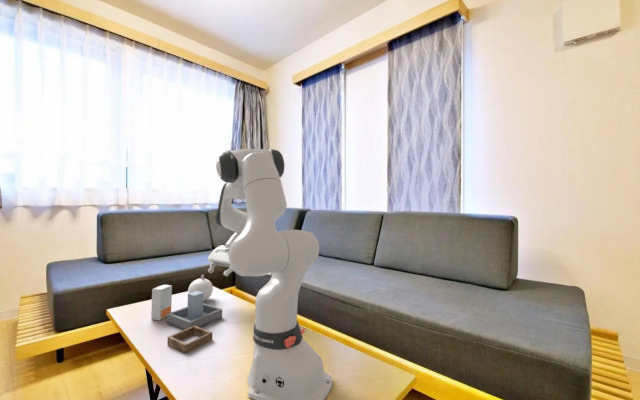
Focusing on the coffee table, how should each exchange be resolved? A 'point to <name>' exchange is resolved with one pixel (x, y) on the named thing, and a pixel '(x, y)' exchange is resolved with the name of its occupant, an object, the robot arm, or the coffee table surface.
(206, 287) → the ornament
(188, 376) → the coffee table surface
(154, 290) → the skincare box
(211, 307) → the charcoal tray
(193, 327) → the walnut holder
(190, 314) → the slate block
